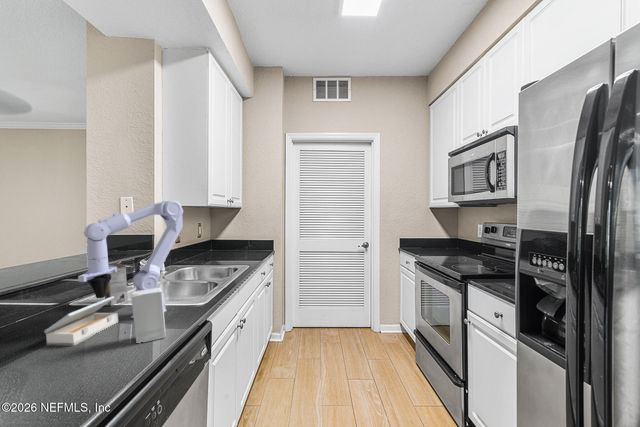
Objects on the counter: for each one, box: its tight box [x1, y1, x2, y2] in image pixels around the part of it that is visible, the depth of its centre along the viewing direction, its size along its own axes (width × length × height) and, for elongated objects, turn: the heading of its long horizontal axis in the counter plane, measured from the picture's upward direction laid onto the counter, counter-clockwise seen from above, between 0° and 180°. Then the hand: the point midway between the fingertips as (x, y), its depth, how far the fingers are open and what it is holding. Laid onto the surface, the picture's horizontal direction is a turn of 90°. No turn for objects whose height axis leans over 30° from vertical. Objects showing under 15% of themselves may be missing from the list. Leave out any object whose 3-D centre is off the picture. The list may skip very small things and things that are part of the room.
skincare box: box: [130, 286, 167, 344], centre depth 100 cm, size 8×6×15 cm
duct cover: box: [43, 296, 115, 334], centre depth 106 cm, size 10×18×1 cm
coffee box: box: [104, 263, 129, 307], centre depth 139 cm, size 9×6×16 cm
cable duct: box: [45, 312, 119, 347], centre depth 107 cm, size 10×18×4 cm, turn 173°
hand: (100, 297), depth 112 cm, fingers closed
